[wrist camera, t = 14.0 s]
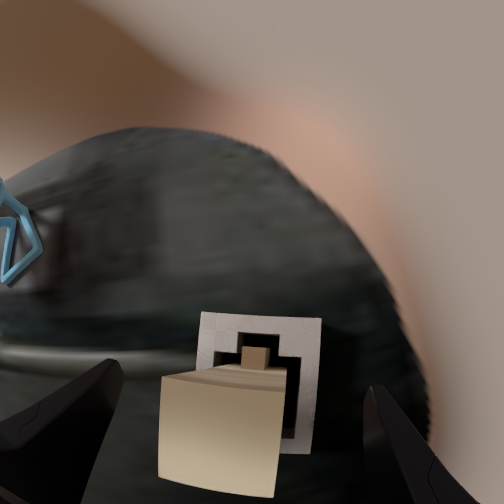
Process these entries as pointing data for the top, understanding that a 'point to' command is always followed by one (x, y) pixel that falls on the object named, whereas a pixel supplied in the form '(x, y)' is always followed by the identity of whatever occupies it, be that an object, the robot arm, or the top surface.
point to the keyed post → (224, 425)
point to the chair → (4, 196)
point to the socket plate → (291, 344)
